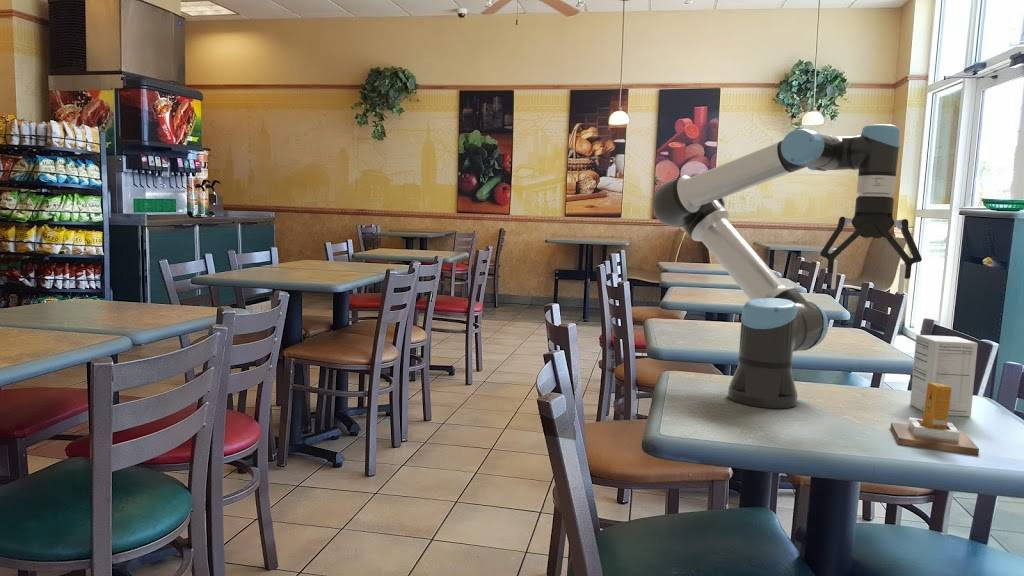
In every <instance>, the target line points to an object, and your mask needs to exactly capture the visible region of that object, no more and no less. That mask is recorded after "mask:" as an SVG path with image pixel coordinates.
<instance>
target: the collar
mask: <svg viewBox="0 0 1024 576" xmlns="http://www.w3.org/2000/svg"><path fill="white" fill-rule="evenodd" d="M922 422H923V418H917V417H909V418H908V428H909V429H910V431H911V433H912V435H913V436H914V437H918V438H925V439H932V440H940V441H947V442H954V443H959V436H960V432H959V430H958V429H957V427H956V426H955V425H954V424H953V423H952V422H950V421H949V422H948V421H947V428H946V429H939V428H931V427H924V426H922Z"/></svg>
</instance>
